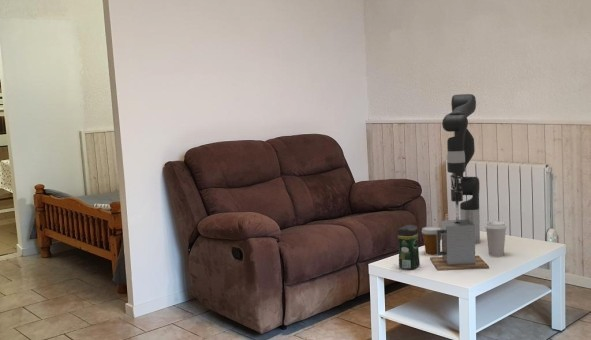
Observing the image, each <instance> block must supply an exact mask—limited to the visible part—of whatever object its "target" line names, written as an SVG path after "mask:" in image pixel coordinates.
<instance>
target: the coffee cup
mask: <svg viewBox="0 0 591 340" xmlns="http://www.w3.org/2000/svg"><path fill="white" fill-rule="evenodd" d="M484 228H485V230H486V231H485V232H486V239H487V241H486V242H487V247H488V248H487V249H488V255H489V256H490V257H503V256H504V255H505V241H506V229H507V228H508V227H507V224H506V223H505V222H504V221H499V220H489V221H487V222H486V223H485V226H484Z"/></svg>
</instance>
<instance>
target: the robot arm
mask: <svg viewBox="0 0 591 340" xmlns="http://www.w3.org/2000/svg"><path fill="white" fill-rule="evenodd" d="M476 108H477V99H476V96H475V95H474V94H472V93H471V94H470V93H462V94H454V95H452V96H451V112H450V113H448V114H446V115H445V116H444V117H443V119H442V122H441V123H442V124H441V126H442V128H443V130H444V131H446V132H449V133H451V132H453V133H454V135H453V136H450V137H449V138H447V141H446V143H447V146H446V147H447V148H446V149H447V154H446V163H447V164H446V165H447V166H446V167H447V172H448V173H451V174H450V177H449V178H450V189H455V195H456V201H459V202H460V203H459V219H460V220H466V219H469V220H470V221H471V222H472V223H473V224H475V245H478V244H480V243H481V225H480V222H481V220H480V214H481V213H480V179H479V177H478V176H464V173H465V171H466V169H467V166H468V164H469V163H470V161H471V160H472V158H473V156H474V155H475V151H476V149H475V138H474V136H473V134H472V133H471V131H470V130H469V129H468V124H469V121H468V117H469V116H471V115H472V114H473V113H475V111H476ZM458 188H460V189H458ZM462 189H463V190H462ZM461 191H463V196H472V197H471V198H470V199H468V200H465V201H464V200H463V201H461Z"/></svg>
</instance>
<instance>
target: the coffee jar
mask: <svg viewBox="0 0 591 340" xmlns="http://www.w3.org/2000/svg"><path fill="white" fill-rule="evenodd" d="M397 239H398V267H399V269H402V270H414V269H416V268H418V267H419V266H420V262H421V261H420V252H419V227H418V226H417V225H416V224H415V225H414V224H406V225H404V226H402V227H400V228H397Z"/></svg>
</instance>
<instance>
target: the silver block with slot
mask: <svg viewBox="0 0 591 340" xmlns="http://www.w3.org/2000/svg"><path fill="white" fill-rule="evenodd" d="M440 226H441V227H440V228H441V230H436V233H437V255H436V256H441V257H442V259H443V260H444V262H445V263H446V265H447V266H456V265H475V256H476V244H475V224H473V223H472V222H471V221H470V220H469V219H466V220H461V219H459V223H456V219H448V220H447V219H446V220H440ZM440 233H441V241H440Z"/></svg>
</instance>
